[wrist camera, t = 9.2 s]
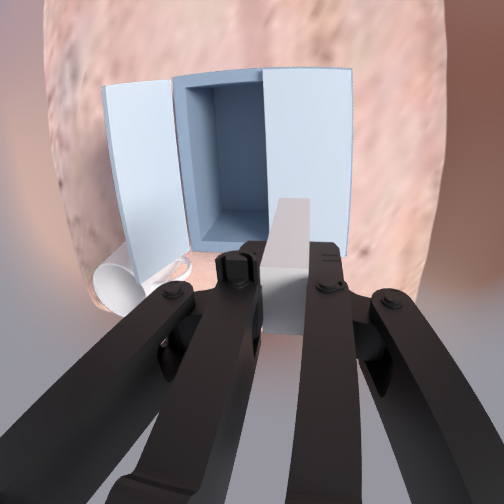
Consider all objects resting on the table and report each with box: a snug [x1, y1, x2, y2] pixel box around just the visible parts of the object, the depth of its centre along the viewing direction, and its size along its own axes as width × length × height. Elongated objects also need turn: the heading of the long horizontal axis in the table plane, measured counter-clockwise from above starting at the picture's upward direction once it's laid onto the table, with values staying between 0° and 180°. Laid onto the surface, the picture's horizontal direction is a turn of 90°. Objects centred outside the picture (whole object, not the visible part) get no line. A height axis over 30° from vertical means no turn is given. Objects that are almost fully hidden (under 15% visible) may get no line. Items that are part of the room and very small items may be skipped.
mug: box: [93, 241, 192, 317], centre depth 41 cm, size 12×8×12 cm
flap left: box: [101, 79, 190, 284], centre depth 27 cm, size 7×18×1 cm
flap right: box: [263, 69, 352, 258], centre depth 28 cm, size 7×18×1 cm, turn 3°
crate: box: [172, 67, 353, 256], centre depth 33 cm, size 16×18×10 cm
